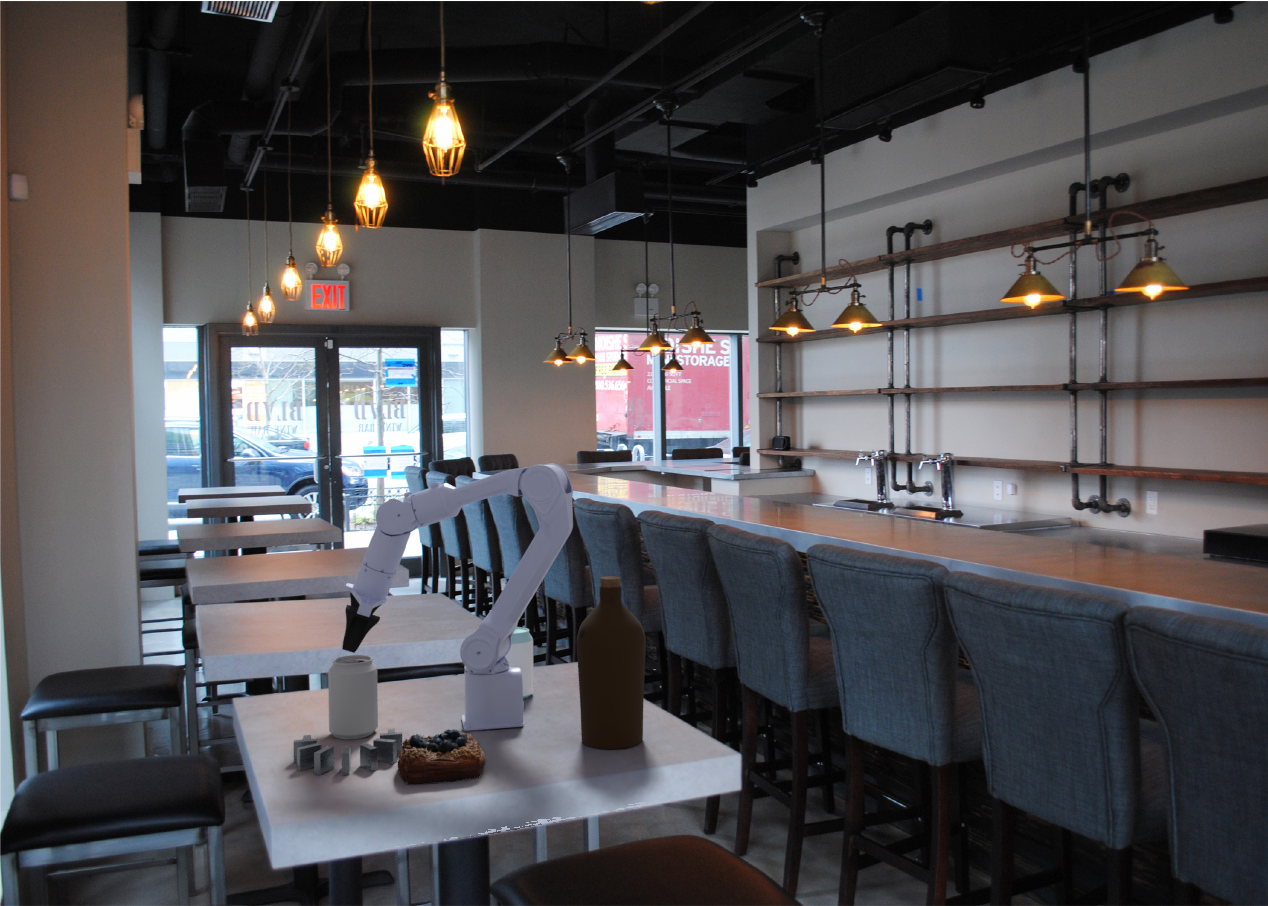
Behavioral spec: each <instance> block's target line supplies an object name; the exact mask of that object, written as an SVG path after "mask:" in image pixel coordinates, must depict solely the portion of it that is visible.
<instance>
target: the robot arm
mask: <svg viewBox="0 0 1268 906" xmlns="http://www.w3.org/2000/svg"><path fill="white" fill-rule="evenodd" d="M573 492H574V487H573V485H572V482H571V479H570V477H569V473H567V471H566V469H564V467H563V466H562V465H559V464H556V463H545V464H535V465H532V466H527V467H520V468H513V469H507V470H503V471H501V472H498V473H495V474H492V475H490V476H487V477H483V478H481V479H478V480H475V481H472V482H470V483H467V484H464V485H461V486H459V487H456V486H454V485H451V484H450V483H448V482H444V483H441V481H435V482H433V483H430V487H428V488H426V489H423V490H420V491H415V492H414V493H413V492H412V491H408V492H405V493H404V494H403V496H404V497H402V498H389V499H388V500H387V501H384V502H383V503H382V504H381V505H380V506H379V507H378V508H377V510H376V514H375V522H376V526H375V530H374V532H373V534H372V536H371V538H370V541H369V543H368V547H367V549H366V551H365V554H364V557H363V559H362V562H361V565H360V567H359V571H358V573H357V575H356V578H355V581H354V583H353V584H352V583H349V582H347V583H346V584H345V587H344V590H346V591H348V592H350V593H349V596H350V605H349V604H346V605H345V606H346V607H345V611H344V612H345V618H346V619H345V621H346V623H345V630H344V635H343V639H342V647H341V648H342V650H343V651H346V652H350V653H352V654H355V653H356V651H358V649H359V648H360V645H361V644H362V643H363V641H364V640H365V637H366V636H367V634H368V633H369V632H370V631H371V629H373V627H375V626H376V625H377V624H378V623H379V621H380V620H381V617H380V616H378V615H376V614H374V613H375V612H376V610H378V609H379V608H380V607H381V606H382V605H383V604H385V603H387V600H388V595H389V592H390V590H391V588H392V587H391V586H392V584H393V582H394V579H395V576H396V574H397V571H398V568H399V566H400V563H401V561H402V558H403V555H404V553H405V550H406V547H407V544H408V541H409V539H410V537H411V532H414V531H415V530H416V529H418V528H419V527H420V528H424V527H426V526H429V525H433V524H437V523H439V522H442V521H445V520H448V519H451V518H455V517H457V516H458V515H459V513H460V511H461V509H462V508H463V507H464V506H465V505H469V504H473V503H477V502H479V501H483V500H485V499H487V500H488V499H489V498H492V497H497V496H500V495H503V494H508V495H511V496H513V497H522V496H523V497H524V498H525V499H526V501H527V502H528V504H529V505H530V506H531V508H533V510H534V513H535V517H536V519H537V523H538V525H539V529H538V531H537V532H536V534H535V536H534V537H533V539H532V541H531V542H530V544H529V545H528V546H527V547H528V548H527V549H526V550H525V552H524V554H523V555H522V558H521V559H520V560H519V562H518V564H517V566H516V567H515V569H514V571H513V572H512V574H511V576H510V577H509V579H508V581H507V582H506V585H505V586H504V588H503V590H502V591H501V593H500V594H499V596H498V598H497V600H496V601H495V602H494V604H493V606H492V607H491V610H490V611H489V612H488V614H486V616H485V618H484V619H483V620H482V621H481V622H480V624H479V625H478V627H477V629H476V630H475V631H474V632H472V633H471V634H469V635H468V636H467V637H465V638H464V640H463V641H462V643H461V645H460V650H459V655H460V660H461V661H462V663H463V665H464V673H463V674H464V714H462V715H461V722H462V723H461V724H462V727H463V731H465V732H469V731H481V730H483V731H484V730H492V729H493V730H494V729H506V728H508V729H509V728H521V727H524V725H525V723H524V710H525V709H524V708H525V706H524V699H523V683H522V672H521V668H519V667H509V663H508V661H507V659H506V658H505V656H506V655H507V654H508V652H509V651H510V648H511V642H512V635H513V633H514V631H515V629H516V628H517V627H518V624H519V620H520V619H521V617H522V616H523V614H524V613H525V610H526V608H527V607H528V605H529V604H530V602H531V600H532V599H533V597H534V596H535V594H536V592H537V590H538V589H539V587H540V585H542V582H543V581H544V579H545V576H546V575H547V574H548V572H549V571H550V568H551V567H552V565H553V563H554V562H555V560H556V558H557V557H558V555H559V554H560V552H561V550H562V548H563V546H564V545H565V543H566V542H567V540H568V538H569V537H570V535H571V534H572V531H573V528H574V520H573V519H574V517H573V516H574V515H573Z"/></svg>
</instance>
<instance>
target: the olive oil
mask: <svg viewBox="0 0 1268 906" xmlns="http://www.w3.org/2000/svg"><path fill="white" fill-rule="evenodd" d="M599 582H600V586H599V602H598V604H597V605H596V606H595V607H594V608H593V610H592V611H591V612H590V613H589V614H588V615H587V616H586V617H585V618H584V620H583V621H582V622H581V624H580V626H579V629H578V632H577V635H576V656H577V657H576V658H577V669H578V670H577V671H578V672H577V673H578V686H579V687H578V690H579V691H578V692H579V706H580V707H579V708H580V729H581V730H580V732H581V734H580V735H581V742H582V743H583V744H584V745H585V746H588V747H590V748H594V749H598V750H599V749H601V750H621V749H627V748H631V747H634V746H638V745H639V744H640V743H642V741H643V738H644V698H645V697H644V695H645V694H644V693H645V671H646V670H645V669H646V666H645V665H646V649H647V648H646V647H647V645H646V644H647V642H646V640H647V639H646V638H647V637H646V635H645V630H644V627H643V625H642V623H641V622H640V620H639V619H638V618H637V617H636V616H635V615H634V614H633V613H632V612H631V610H630V609H628V607H627V606H626V605H625V604H624V602H623V601H622V585H621V582H622V579H621V577H620V576H613V575H612V576H611V575H609V576H602V577H600V578H599Z"/></svg>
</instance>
